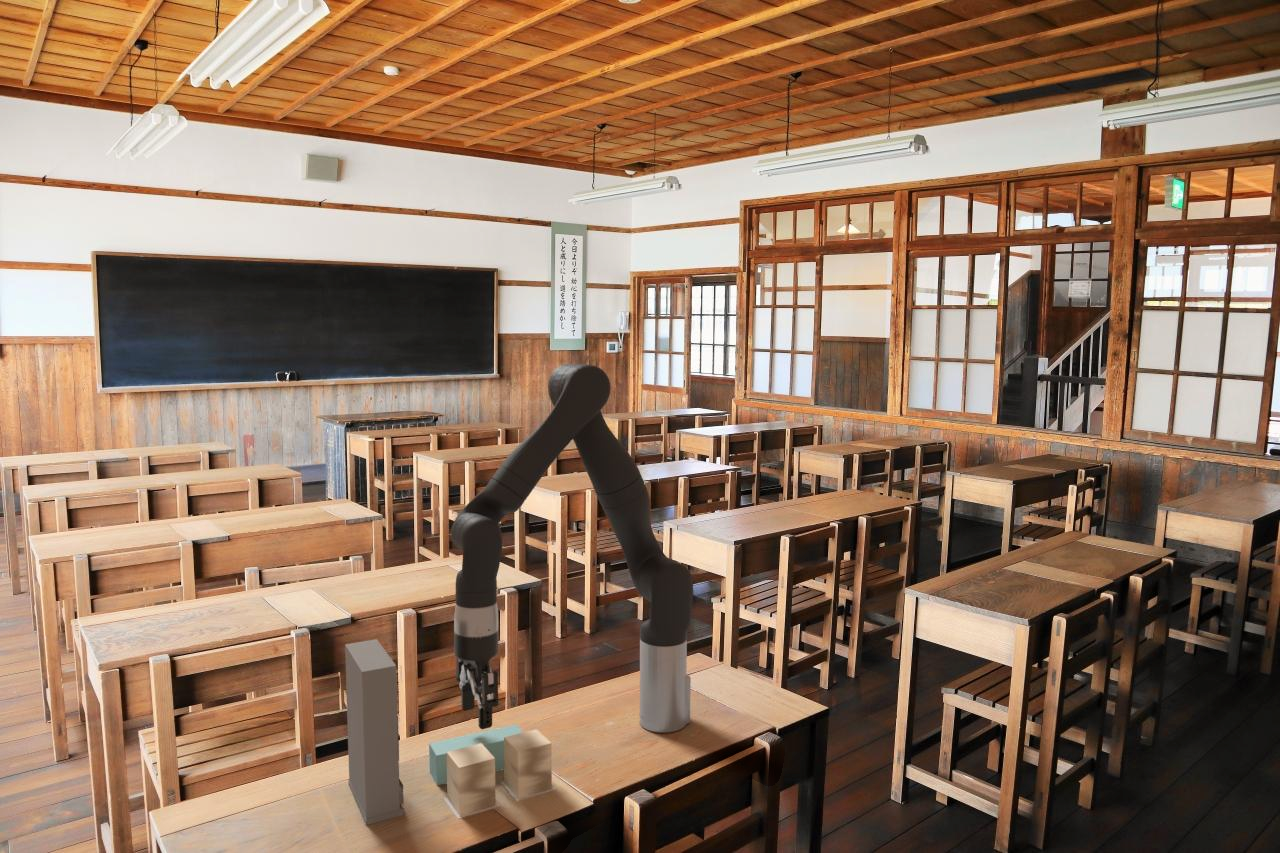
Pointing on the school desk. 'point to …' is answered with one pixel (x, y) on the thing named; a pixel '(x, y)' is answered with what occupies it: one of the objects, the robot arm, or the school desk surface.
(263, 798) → the school desk surface
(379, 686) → the tall grey upright post
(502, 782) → the thin flat base plate
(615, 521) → the robot arm
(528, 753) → the pillar
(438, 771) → the lintel
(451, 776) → the pillar
